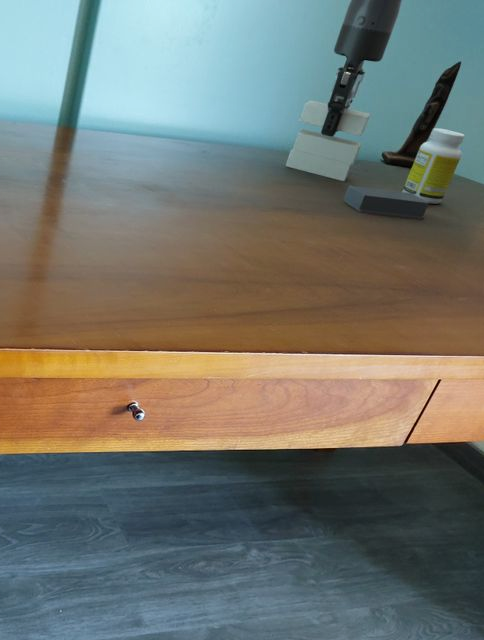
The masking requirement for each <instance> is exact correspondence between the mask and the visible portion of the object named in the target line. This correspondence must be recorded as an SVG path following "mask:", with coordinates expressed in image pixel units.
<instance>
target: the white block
mask: <svg viewBox="0 0 484 640" xmlns="http://www.w3.org/2000/svg"><path fill="white" fill-rule="evenodd" d="M327 113H328V103H324V102H320V101H315V100H309V101H307V102H306V103H304V107H303V109H302V113H301V116H300V118H299V123H304V124H308V125H313V126H317V127H320V128H323V125H324V122H325V119H326V116H327ZM370 117H371V113H370V112H369V113H368V112H364V111H360V110H356V109H351V108H348V109H347V108H345V112H343V114H342V116H341V119H340V122H339V125H338V128H337V131H338V132H340V133H341V132H342V133H346V134H349V135H350V134H351V135H355V136H359V137H361V136H362V135H363V133H364V132H365V130H366V127H367V125H368V122H369V119H370Z"/></svg>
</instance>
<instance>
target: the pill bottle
mask: <svg viewBox="0 0 484 640" xmlns="http://www.w3.org/2000/svg"><path fill="white" fill-rule="evenodd" d="M464 139H465V134H463V133H461V132H458V131H454V130H450V129H445V128H441V127H440V128H438V127H437V128H436V127H434V129H433V130H432V132H431V135H430V136H429V141H428V140H427V142H425V143H423V144H422V145H421V146H420V149H419V151H418V154H417V156H416V159H415V161H414V164H413V166H412V167H410V171H409V174H408V176H407V177H406V181H405V183H404V186H403V188H402V191H401V192H406V193H412V194H414V195H415V196H417V197H419V198H421V199H423V200H424V201H426V202H428V203H429V204H430V205H436V204H440V203H441V202H442V201H443V199H444V198H445V195H446V192H447V190H448V188H449V186H450V183H451V180H452V178H453V177H454V174H455V172H456V170H457V167H458V164H459V163H460V160H461V158H462V151H461V149H460V148H459V145H462V143H463V142H464ZM429 204H428V205H429Z"/></svg>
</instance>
